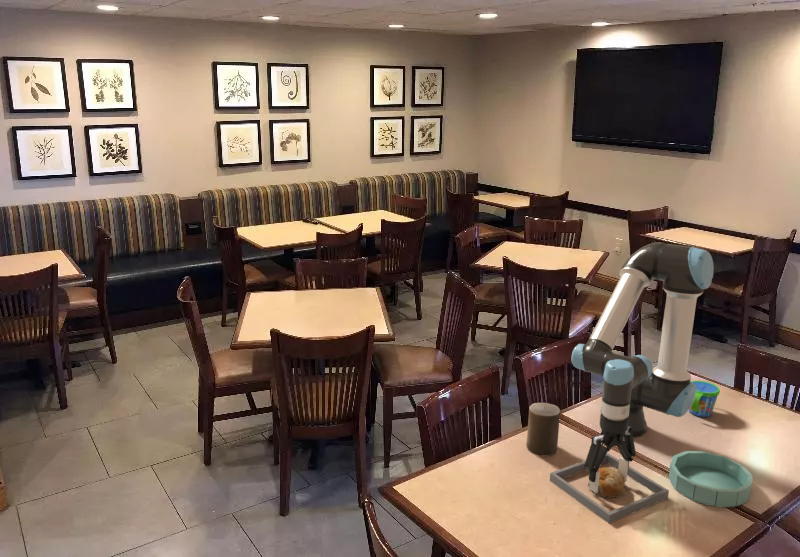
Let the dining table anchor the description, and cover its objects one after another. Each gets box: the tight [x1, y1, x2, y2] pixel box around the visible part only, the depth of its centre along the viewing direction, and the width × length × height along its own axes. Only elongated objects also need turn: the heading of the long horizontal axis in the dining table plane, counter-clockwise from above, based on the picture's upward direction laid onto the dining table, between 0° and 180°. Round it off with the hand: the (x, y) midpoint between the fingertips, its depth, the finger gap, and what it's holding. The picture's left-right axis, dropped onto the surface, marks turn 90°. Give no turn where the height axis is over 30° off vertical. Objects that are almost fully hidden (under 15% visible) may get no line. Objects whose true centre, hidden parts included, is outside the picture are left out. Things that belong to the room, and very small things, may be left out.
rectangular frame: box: [549, 452, 670, 524], centre depth 190 cm, size 23×23×2 cm
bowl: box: [668, 450, 754, 508], centre depth 191 cm, size 21×21×5 cm
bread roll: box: [588, 467, 626, 499], centre depth 190 cm, size 10×10×8 cm
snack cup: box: [688, 380, 721, 418], centre depth 234 cm, size 16×10×10 cm
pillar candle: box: [526, 402, 561, 456], centre depth 210 cm, size 10×10×15 cm
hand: (607, 484), depth 190 cm, fingers closed on bread roll, 11 cm apart
